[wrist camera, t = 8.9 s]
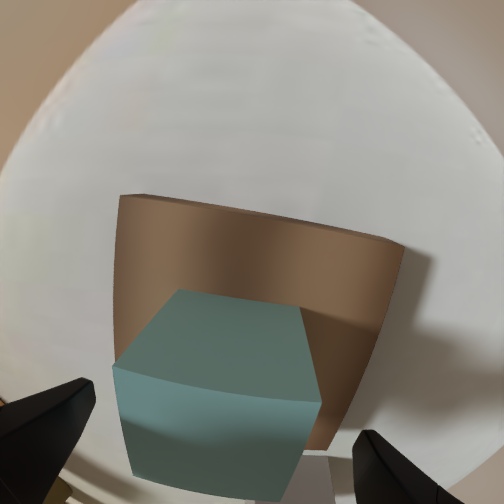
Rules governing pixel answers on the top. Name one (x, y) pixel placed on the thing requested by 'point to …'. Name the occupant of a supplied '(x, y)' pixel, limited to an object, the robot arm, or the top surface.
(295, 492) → the grey block
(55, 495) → the cork
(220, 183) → the top surface
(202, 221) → the walnut block
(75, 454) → the top surface
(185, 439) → the teal block
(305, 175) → the top surface
